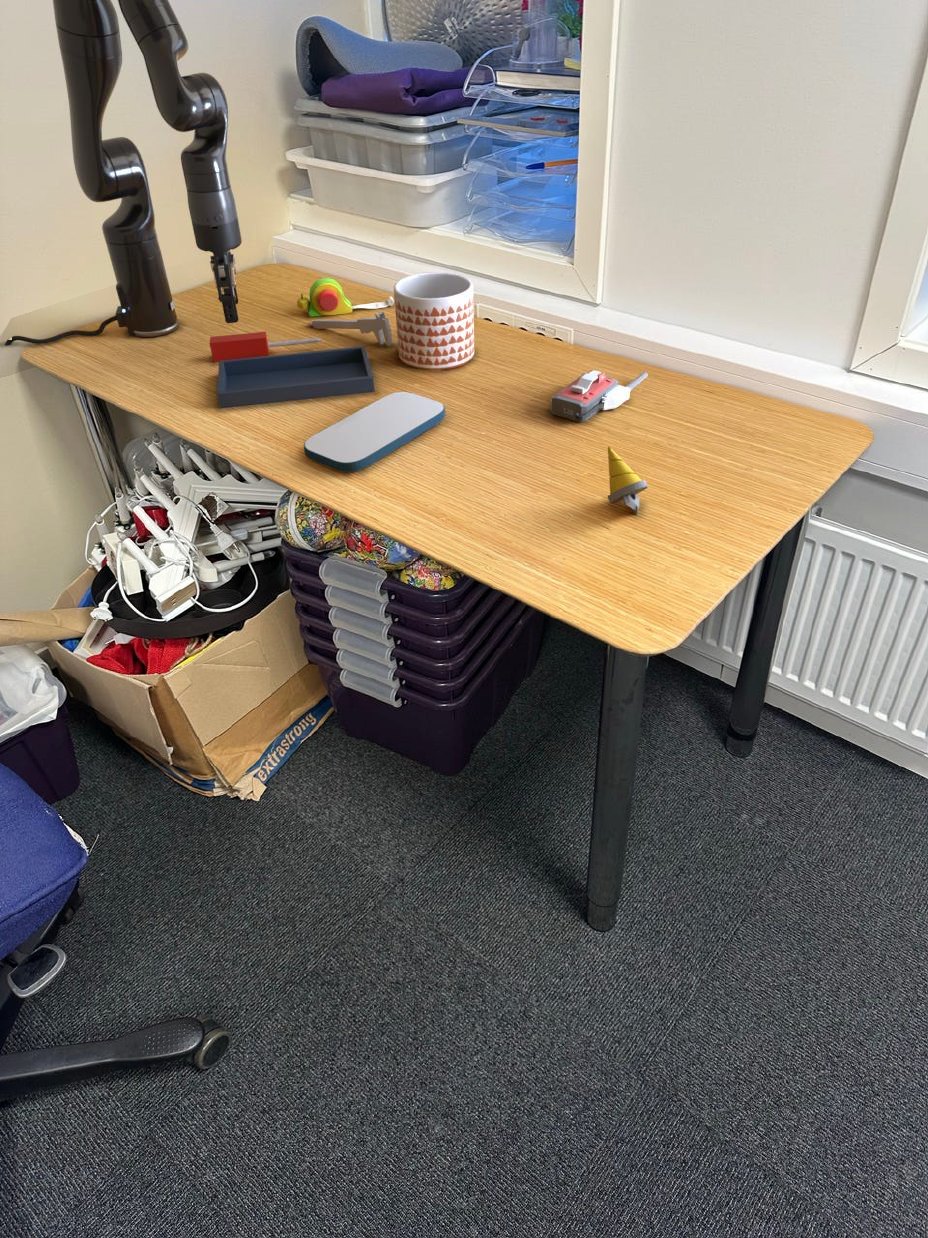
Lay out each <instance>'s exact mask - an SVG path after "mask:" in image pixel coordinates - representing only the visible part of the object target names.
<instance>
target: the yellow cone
mask: <svg viewBox="0 0 928 1238" xmlns="http://www.w3.org/2000/svg"><path fill="white" fill-rule="evenodd" d="M607 458H608V461H607V462H608V476H609V477H608V478H609V495H608V496H607V499H608V501H609V503H610V504H616V503H619V502H622V501H623V503H624V505H626V506H627V507H629V508H631V510H632V512H634V513H635V514H636V515H638V514H639V508H640V498H639V495H638V494H640V493H641V492H643V491H645V490H646V489H648V488H649V486H648V484H647V481H646V479H641V478H640V477H639V476H638V475H637V474H636V473H635V472H634V470H632V468H630V466H629V465H628V464H626V462H625V461H624V460H623V459H622V458H621V457H620V456H619V455H618V454H617V453H616V452H615V451H614V450H613V449H612V448H611V447H610V446H607Z"/></svg>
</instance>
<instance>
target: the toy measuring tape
mask: <svg viewBox="0 0 928 1238" xmlns="http://www.w3.org/2000/svg"><path fill="white" fill-rule="evenodd" d="M296 303H297V305H296V306H298V308H299V309H300V310H303V311H304V310H307V314H308V316H309V317H312V318H313V317H321V316H337V315H345V314H352V313H353V310H355V309H356V310H357V309H366V310H367V309H370V310H376V309H382V308H388V307H389V306H390V307H393V306H395V299H394V297H392V295H391V296H390V295H389V296H387V298H386V301H379V302H371V303H364V304H363V303H362V304H357V305H352V303H351V301H350V300H349V299H348V298H346V296H345V293H344V291H343V289H342V286H341V285H340V284H339V282H338V281H336V279H333V278H331V277H321V278H319V279H316V280H315V281H314V282H313V283H312V285H311V286H310V289H309V299H308V297H306V294H305V292H301V294H300V297H298V298H297V300H296Z"/></svg>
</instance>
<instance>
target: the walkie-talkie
mask: <svg viewBox="0 0 928 1238" xmlns="http://www.w3.org/2000/svg"><path fill="white" fill-rule="evenodd" d="M647 377H648V372H642V373H641V374H639V376H637V377H635V379H633V380H632V381H631V382H629V383H628V384H627V385H620V384H619V381H618V380H616V379H615V378H612V377H608V376H606V373H605V372H603V371H599V370H596V369H595V370H594V369H590V370H589V371H587V372H586V373H583V374H582V375H580V376H578V377H577V378H576V379H575V380H573V381H571V383H569V384H568V385H566V386H565V387H564V388H562V389H561V390H559V391H558V392H557V393H555V394H554V395H552V396H551V399H550V400H551V402H550V404H551V405H550V412H551V414H553V415H554V416H557V417H561V418H564V419H567V420H568V419H569V420H572V421H575V422H578V423H582V422H587V421H588V420H589V419H591V418H592V417H593V416H595V415H596V414H597V413H598V412H600V411H601V410H602V411H608V410H612V409H617V408H619V406H620V405H622V404H623V403H624V402H626V401H628V400H630V395H631V394H630V393H631V391H632V390H633V389H634V388H636V387H637V386H639V385H640V384H641V382H642V381H644V380H645V379H646V378H647Z"/></svg>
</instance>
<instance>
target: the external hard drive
mask: <svg viewBox="0 0 928 1238" xmlns="http://www.w3.org/2000/svg"><path fill="white" fill-rule="evenodd" d="M445 417H446V408H445V405H444V404H443V403H442V402H440V401H438V400H435V399H432V398H429V397H426V396H423V395H420V394H417V393H415V392H410V391H397V392H392V393H389V394H387V395H384V396H382V397H381V398H379V399H377V400H376V401H375V400H374V401H373V402H371V403H370V404H368V405H366V406H365V407H363V408H360V409H358V410H357V411H355V412H354V413H351V414H350V415H348V416H346V417H344V418H342V419H341V420H338V421H337V422H335V423H333V424H331V425H330V426H328V427H325V428H324V429H322V430H320V431H318V432H317V433H315V434H313V435H312V436H309V438H307V439H306V440H305V442H304V444H303V451H304V455H305V456H306V458H307V459H309V460H310V461H312V462H315V463H317V464H320V465H322V466H324V467H327V468H329V469H332V470H334V471H337V472H340V473H354V472H358V471H361V470H364V469H365V468H367V467H370V466H372V465H373V464H375V463H376V462H378V461H379V460H381V459H383V458H384V457H386V456H388V455H389V454H391V453H393V452H394V451H396V450H397V449H399V448H401V447H403V446H404V445H406V444H407V443H410V442H411V441H413V440H414V439H416V438H418V437H419V436H421V435H422V434H424V433H426V432H427V431H429V430H430V429H432V428H435V426H437V425H439V424H440V423H441V422H442V421H443V420H444V419H445Z"/></svg>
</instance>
